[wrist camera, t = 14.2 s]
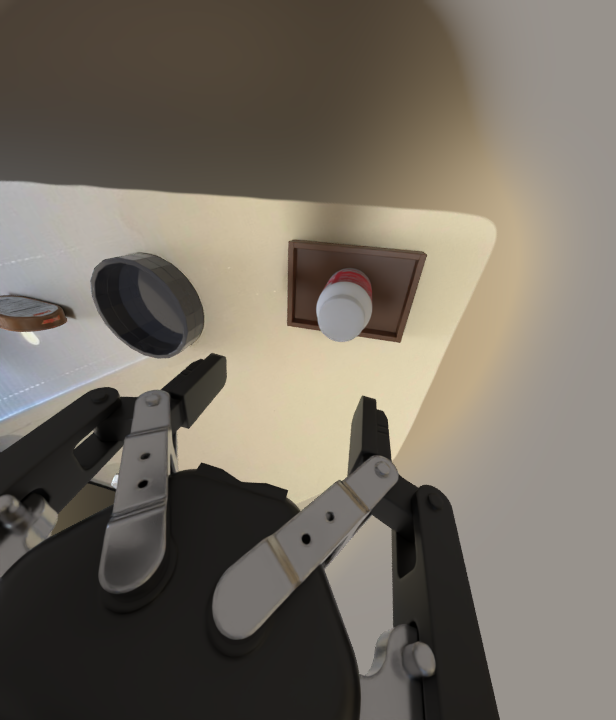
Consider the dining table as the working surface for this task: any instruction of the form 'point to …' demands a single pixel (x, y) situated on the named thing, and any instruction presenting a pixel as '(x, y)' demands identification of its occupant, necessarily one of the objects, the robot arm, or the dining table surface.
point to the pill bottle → (345, 305)
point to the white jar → (115, 481)
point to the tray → (381, 265)
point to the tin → (29, 314)
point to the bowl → (147, 304)
